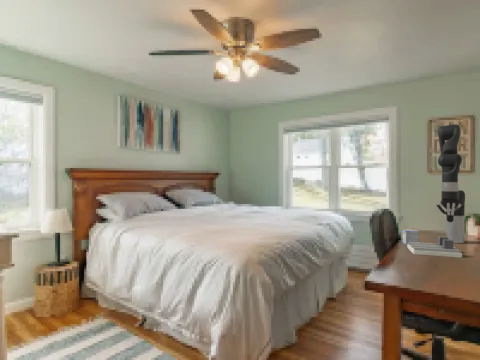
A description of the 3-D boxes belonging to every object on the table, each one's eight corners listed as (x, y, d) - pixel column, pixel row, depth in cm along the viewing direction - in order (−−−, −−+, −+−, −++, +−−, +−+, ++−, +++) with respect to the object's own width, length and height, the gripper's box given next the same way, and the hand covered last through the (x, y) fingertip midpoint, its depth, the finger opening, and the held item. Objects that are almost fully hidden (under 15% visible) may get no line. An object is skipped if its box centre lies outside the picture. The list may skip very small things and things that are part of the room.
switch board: (407, 247, 172) (407, 241, 172) (450, 250, 164) (450, 244, 164) (413, 254, 157) (413, 247, 157) (462, 257, 149) (461, 250, 149)
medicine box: (415, 243, 182) (415, 229, 182) (419, 244, 178) (419, 230, 178) (402, 242, 183) (402, 229, 183) (405, 244, 179) (405, 230, 179)
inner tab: (438, 246, 164) (438, 236, 164) (446, 246, 163) (446, 236, 163) (439, 247, 162) (439, 237, 161) (448, 247, 160) (448, 237, 160)
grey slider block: (442, 249, 157) (442, 239, 157) (451, 250, 155) (451, 239, 155) (444, 250, 154) (444, 240, 154) (453, 251, 153) (453, 240, 153)
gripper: (462, 190, 158) (462, 221, 158) (433, 190, 163) (433, 220, 163) (467, 190, 151) (467, 223, 151) (437, 190, 156) (437, 222, 156)
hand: (449, 222), depth 157 cm, fingers closed
